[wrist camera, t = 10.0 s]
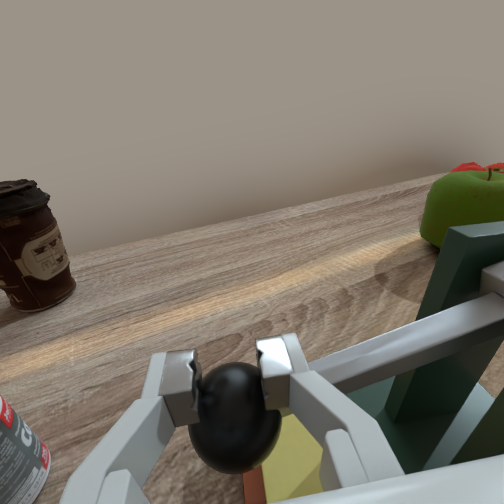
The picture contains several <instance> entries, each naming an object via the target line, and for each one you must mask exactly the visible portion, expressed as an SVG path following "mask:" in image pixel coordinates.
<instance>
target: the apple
mask: <svg viewBox="0 0 504 504" xmlns="http://www.w3.org/2000/svg"><path fill="white" fill-rule="evenodd" d="M500 221H504V174H503V173H496V172H491V168H489V169H488V172H487V171H473V170H471V171H459V172H451V173H449V174H447V175H445V176H443V177H442V178H440V179H438V180H437V181H435V182H434V183H433V185H432V187H431V189H430V191H429V193H428V195H427V200H426V205H425V209H424V214H423V218H422V223H421V227H420V234H421V237H422V238H424V239H425V240H427V241H428V242H430V243H431V244H433V245H434V246H436V247H437V248H439V249H440V250H441V247H442V244H443V242H444V239H445V236H446V233H447V230H448V228H449V227H455V226H464V225H473V224H482V223H491V222H500Z"/></svg>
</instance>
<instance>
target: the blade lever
mask: <svg viewBox="0 0 504 504" xmlns="http://www.w3.org/2000/svg"><path fill="white" fill-rule="evenodd" d="M503 335H504V260H502V261H500V262H497V263H495V264H492V265H490V266H487V267H484V268H483V269H482V271H481V281H480V291H479V297H477V298H475V299H472V300H470V301H467V302H464V303H462V304H459V305H457V306H454V307H451V308H449V309H446V310H444V311H441V312H438V313H436V314H433V315H431V316H428V317H425V318H423V319H420V320H418V321H415V322H413V323H410V324H407V325H405V326H402V327H400V328H397V329H394V330H392V331H389V332H387V333H384V334H381V335H379V336H376V337H374V338H371V339H369V340H366V341H363V342H361V343H358V344H356V345H353V346H350V347H348V348H345V349H343V350H340V351H337V352H335V353H332V354H330V355H327V356H324V357H322V358H319V359H317V360H314V361H312V362H309V363H307V364H308V367H309V369H310V371H316V372H317V373H318V374H319V375H321V376H322V377H323V378H324V379H325V380H327V381H328V382H329V383H330V384H332V385H333V386H334V387H335V388H337V389H338V390H339V391H340V392H342V393H343V394H344V395H345V394H348V393H350V392H353V391H356V390H358V389H361V388H364V387H366V386H369V385H372V384H374V383H377V382H380V381H382V380H385V379H388V378H390V377H393V376H396V375H399V374H401V373H404V372H407V371H409V370H412V369H415V368H417V367H420V366H423V365H425V364H428V363H431V362H433V361H436V360H439V359H441V358H444V357H447V356H449V355H452V354H455V353H458V352H460V351H463V350H466V349H468V348H471V347H474V346H476V345H479V344H482V343H484V342H487V341H490V340H492V339H495V338H498V337H500V336H503ZM200 398H201V402H202V404H201V422H199V423H195V424H190V425H188V431H189V436H190V439H191V442H192V445H193V447H194V449H195V451H196V452H197V454H198V456H199V457H200V458H201V459H202V460H203V461H204V462H205V463H206V464H207V465H208V466H209V467H211V468H213V469H214V470H216V471H218V472H221V473H225V474H233V475H234V474H242V473H246V472H249V471H251V470H253V469H255V468H256V467H258V466H259V465H260V464H262V463H263V462H264V461H265V460H266V459H267V458H268V456H269V455H270V454H271V452H272V451H273V449H274V447H275V446H276V444H277V441H278V439H279V436H280V432H281V427H282V418H283V417H286V416H289V415H291V414H293V413H292V412H291V410H290V409H289V407H288V408H281V409H275V410H268V411H265V407H264V402H263V396H262V390H261V381H260V379H259V374H258V368H257V367H255V366H253V365H251V364H248V363H243V362H230V363H225V364H222V365H220V366H218V367H216V368H214V369H213V370H211V371H210V372H209V373H208V374H206V375H205V376H204V377H203V379H202V391H201V392H200Z"/></svg>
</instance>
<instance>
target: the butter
mask: <svg viewBox="0 0 504 504" xmlns="http://www.w3.org/2000/svg"><path fill="white" fill-rule="evenodd" d="M322 452H323V448H322V447H321V446H320V444H319V443H318V442H317V441H316V440H315V439H314V437H313V436H312V435H311V434H310V433H309V432H308V430H307V429H306V428H305V427H304V426H303V424H302V423H301V422H300V421H299V420H298V419H297V417H296V416H295V415H294V414H291V415H289V416H286V417H283V418H282V427H281V432H280V436H279V439H278V441H277V444H276V446H275V447H274V449H273V451H272V452H271V454H270V455H269V456H268V458H267V459H266V460H265V461H264V462H263V463H262V464H260V465H259V466H258V467H256V468H255V469H253V470H251V471H249V472H246V473H242V474H243V486H244V497H245V504H269V503H274V502H278V501H283V500H288V499H293V498H297V497H302V496H307V495H312V494H317V493H321V492H323V489H322V486H321V482H320V478H319V470H320V464H321V458H322Z"/></svg>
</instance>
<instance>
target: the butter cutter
mask: <svg viewBox="0 0 504 504" xmlns="http://www.w3.org/2000/svg"><path fill="white" fill-rule="evenodd" d="M502 260H504V221H500V222H491V223H482V224H473V225H464V226H455V227H449V228H448V230H447V233H446V236H445V239H444V242H443V244H442V247H441V250H440V253H439V256H438V258H437V261H436V264H435V267H434V269H433V272H432V275H431V278H430V281H429V283H428V286H427V289H426V292H425V295H424V297H423V300H422V303H421V306H420V309H419V311H418V314H417V317H416V320H415V321H418V320H420V319H423V318H425V317H428V316H431V315H433V314H436V313H438V312H441V311H444V310H446V309H449V308H451V307H454V306H457V305H459V304H462V303H464V302H467V301H470V300H472V299H475V298H477V297H479V291H480V281H481V271H482V269H483V268H484V267H487V266H490V265H492V264H495V263H497V262H500V261H502ZM503 340H504V335H503V336H500V337H498V338H495V339H492V340H490V341H487V342H484V343H482V344H479V345H476V346H474V347H471V348H468V349H466V350H463V351H460V352H458V353H455V354H452V355H449V356H447V357H444V358H441V359H439V360H436V361H433V362H431V363H428V364H425V365H423V366H420V367H417V368H415V369H412V370H409V371H407V372H404V373H401V374H399V375H396V376H393V377H390V378H388V379H385V380H382V381H380V382H377V383H374V384H372V385H369V386H366V387H364V388H361V389H358V390H356V391H353V392H350V393H348V394H345V396H346V397H348V398H349V399H350V400H351V401H353V402H354V403H355V404H356V405H358V406H359V407H360V408H361V409H362V410H364V411H365V412H366V413H367V414H369V415H370V416H371V417H372V418H374V419H375V420H376V421H377V423H378V425H379V426H380V428H381V430H382V432H383V434H384V436H385V438H386V440H387V442H388V443H389V445H390V447H391V449H392V451H393V453H394V455H395V457H396V458H397V460H398V462H399V464H400V466H401V468H402V470H403V472H404V473H405V475H407V474H412V473H417V472H421V471H426V470H431V469H436V468H440V467H445V466H450V465H455V464H459V463H464V462H469V461H474V460H478V459H483V458H488V457H493V456H498V455H502V454H504V388H503V390H502V391H501V392H500V394H499V395H498V397H497V398H496V399H494V398H493V397H492V396H491V395H490V393H489V392H488V391H487V390H486V389H485V388H484V387H483V386H482V385H481V384H480V383H479V382H478V380H479V379H480V377H481V376H482V374H483V372H484V371H485V369H486V368H487V366H488V364H489V363H490V361H491V360H492V358H493V356H494V355H495V353H496V351H497V350H498V348H499V347H500V345H501V343H502V342H503Z"/></svg>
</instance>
